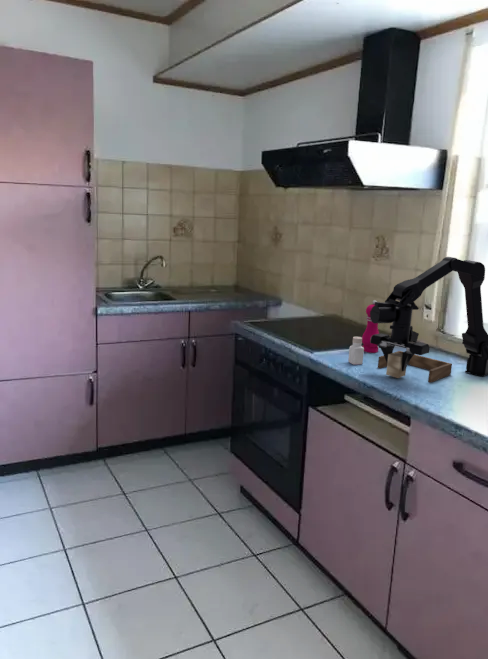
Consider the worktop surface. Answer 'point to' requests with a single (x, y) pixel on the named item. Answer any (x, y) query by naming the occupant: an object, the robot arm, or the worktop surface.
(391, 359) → the maple block
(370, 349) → the pepper mill
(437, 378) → the wooden u-shaped frame
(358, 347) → the salt shaker
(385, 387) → the worktop surface
